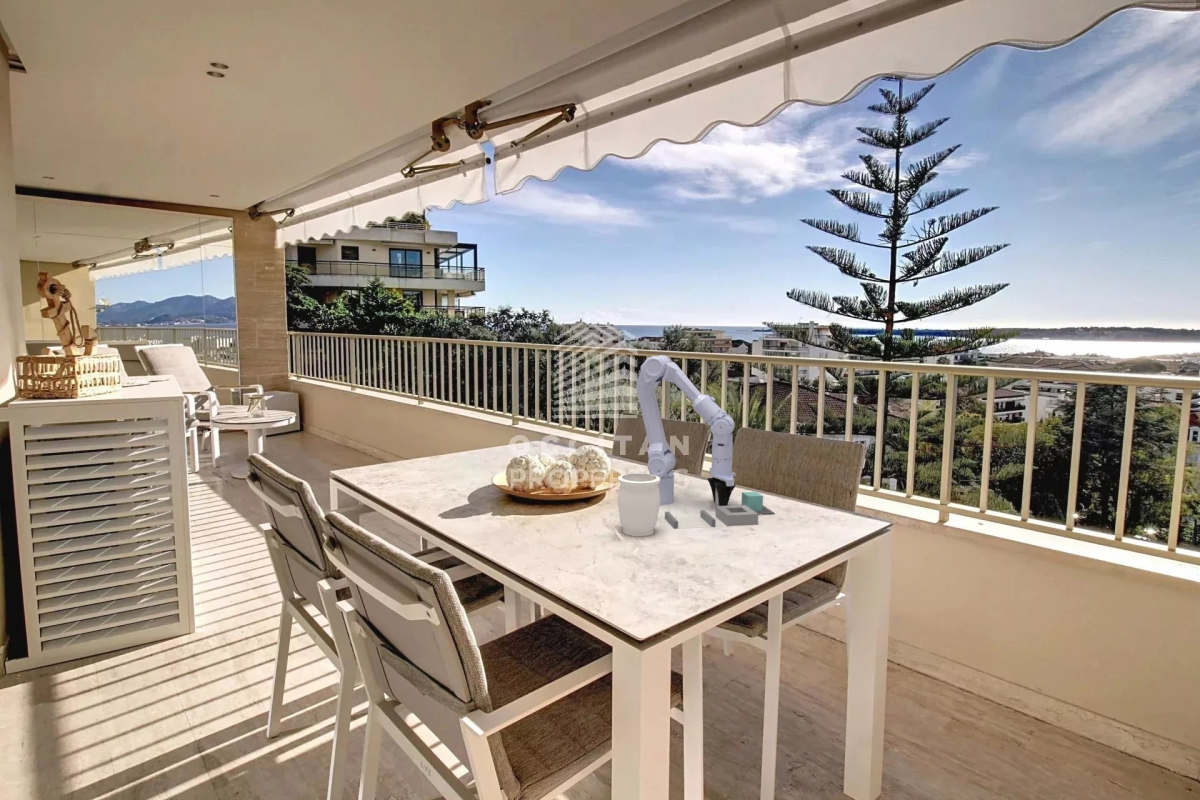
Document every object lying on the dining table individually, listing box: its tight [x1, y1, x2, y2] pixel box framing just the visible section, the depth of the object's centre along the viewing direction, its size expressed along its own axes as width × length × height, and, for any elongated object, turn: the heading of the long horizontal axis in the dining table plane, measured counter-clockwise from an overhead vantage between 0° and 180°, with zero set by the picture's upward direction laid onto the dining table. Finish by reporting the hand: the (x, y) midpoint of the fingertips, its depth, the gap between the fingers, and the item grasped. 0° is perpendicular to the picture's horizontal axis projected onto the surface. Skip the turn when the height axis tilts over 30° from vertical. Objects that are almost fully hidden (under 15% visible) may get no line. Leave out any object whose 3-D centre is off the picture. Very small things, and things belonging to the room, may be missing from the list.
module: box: [740, 491, 764, 512], centre depth 183 cm, size 4×4×4 cm
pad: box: [756, 505, 776, 516], centre depth 183 cm, size 9×9×1 cm
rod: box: [714, 489, 719, 509], centre depth 181 cm, size 3×3×8 cm
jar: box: [617, 472, 660, 537], centre depth 159 cm, size 11×10×15 cm
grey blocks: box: [664, 504, 759, 530], centre depth 169 cm, size 24×14×4 cm, turn 100°
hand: (720, 504), depth 181 cm, fingers open, 4 cm apart
